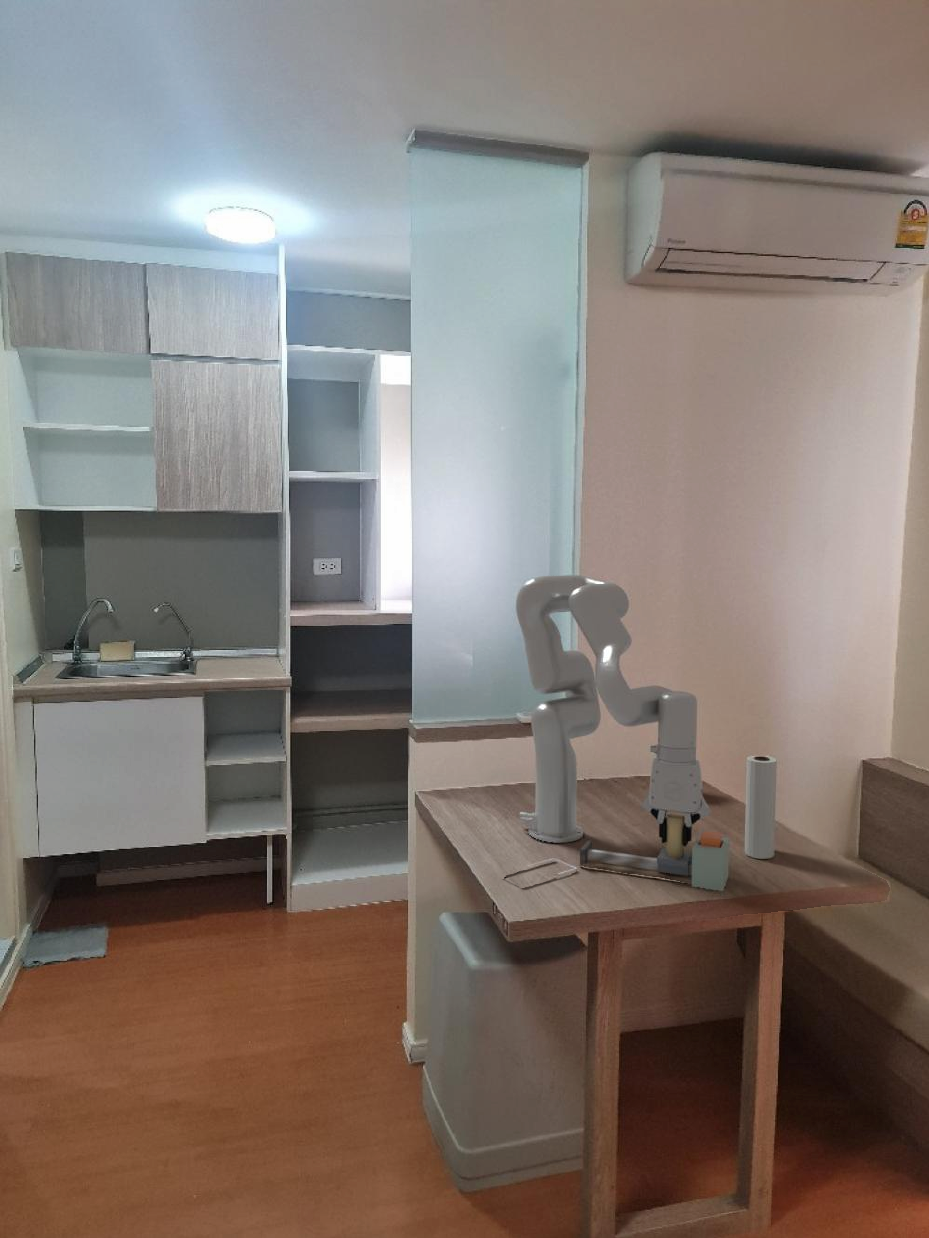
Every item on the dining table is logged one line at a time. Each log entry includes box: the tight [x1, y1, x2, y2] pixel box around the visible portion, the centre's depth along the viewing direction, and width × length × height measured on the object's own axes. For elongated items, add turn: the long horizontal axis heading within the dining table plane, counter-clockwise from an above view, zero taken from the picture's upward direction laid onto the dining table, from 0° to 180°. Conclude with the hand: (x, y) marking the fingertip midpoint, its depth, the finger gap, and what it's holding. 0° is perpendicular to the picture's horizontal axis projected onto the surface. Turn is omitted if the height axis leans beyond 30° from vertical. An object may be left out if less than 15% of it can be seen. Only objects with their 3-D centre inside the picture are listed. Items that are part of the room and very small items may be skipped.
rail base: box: [579, 839, 692, 885], centre depth 180 cm, size 23×6×4 cm, turn 66°
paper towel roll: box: [744, 754, 778, 860], centre depth 188 cm, size 7×6×21 cm
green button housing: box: [691, 834, 730, 892], centre depth 174 cm, size 6×8×8 cm
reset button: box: [700, 831, 723, 848], centre depth 173 cm, size 4×4×3 cm
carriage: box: [656, 813, 692, 876], centre depth 176 cm, size 6×6×11 cm
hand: (675, 841), depth 176 cm, fingers closed on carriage, 3 cm apart
